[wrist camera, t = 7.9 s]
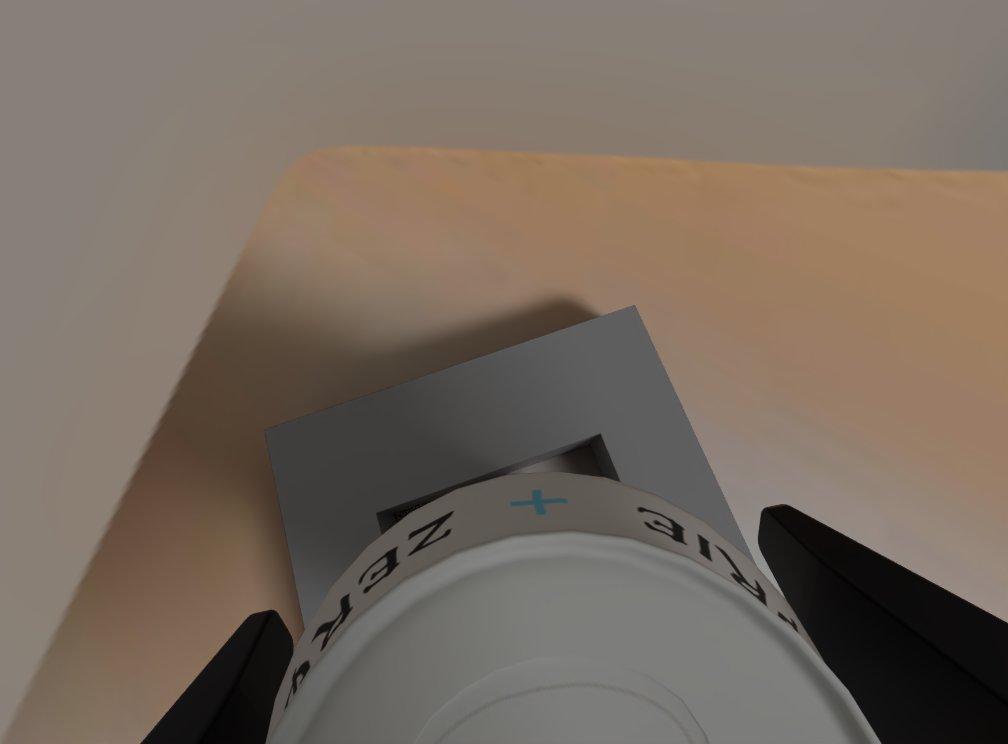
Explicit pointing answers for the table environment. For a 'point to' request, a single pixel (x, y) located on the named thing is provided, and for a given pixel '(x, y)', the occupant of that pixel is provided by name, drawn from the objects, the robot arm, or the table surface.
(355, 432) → the socket block
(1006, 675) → the robot arm
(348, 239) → the table surface
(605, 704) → the energy drink can
